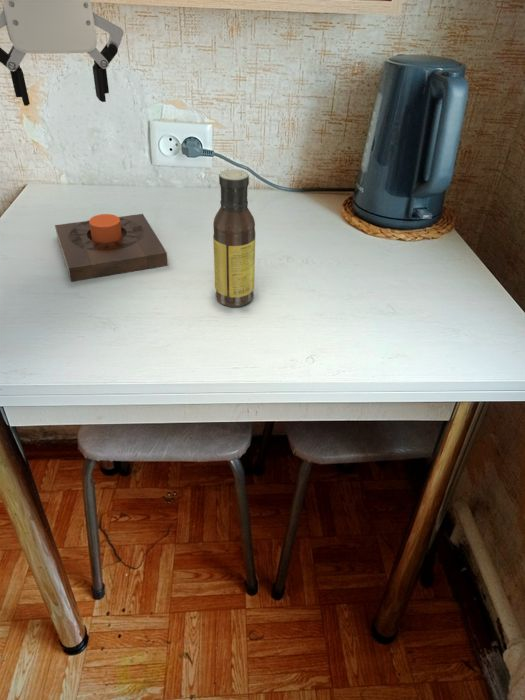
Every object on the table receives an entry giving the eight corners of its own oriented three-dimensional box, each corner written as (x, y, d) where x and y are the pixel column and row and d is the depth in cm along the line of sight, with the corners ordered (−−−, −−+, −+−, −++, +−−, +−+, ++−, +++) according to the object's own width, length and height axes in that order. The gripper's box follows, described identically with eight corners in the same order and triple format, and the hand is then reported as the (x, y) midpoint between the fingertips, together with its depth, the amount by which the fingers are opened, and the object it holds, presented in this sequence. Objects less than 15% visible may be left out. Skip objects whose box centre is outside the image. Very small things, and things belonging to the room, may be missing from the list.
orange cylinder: (96, 255, 89) (92, 228, 86) (90, 241, 93) (86, 216, 89) (126, 250, 91) (123, 224, 88) (119, 237, 94) (116, 212, 91)
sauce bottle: (259, 292, 83) (266, 170, 70) (245, 312, 78) (251, 186, 66) (222, 283, 84) (223, 162, 72) (207, 302, 80) (205, 177, 67)
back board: (71, 281, 82) (68, 268, 80) (57, 236, 93) (54, 223, 92) (167, 265, 88) (166, 252, 86) (143, 224, 99) (142, 212, 97)
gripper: (107, -60, 63) (123, 91, 74) (-51, -70, 57) (-8, 97, 68) (120, -57, 58) (135, 105, 69) (-51, -67, 52) (-5, 112, 63)
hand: (64, 101), depth 68 cm, fingers open, 9 cm apart
